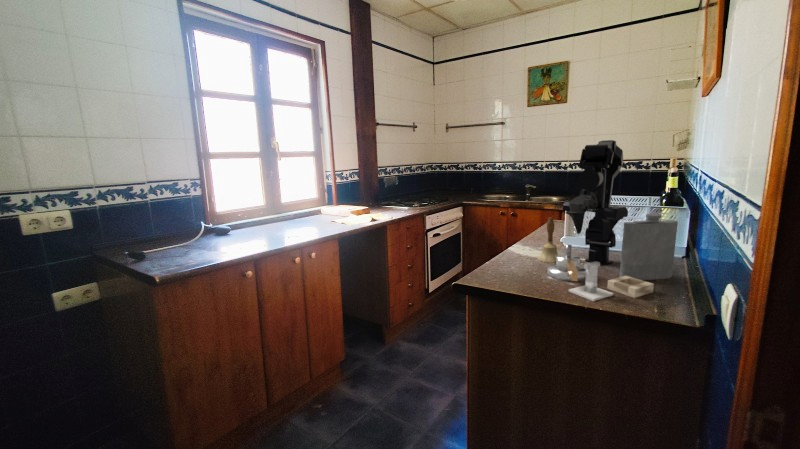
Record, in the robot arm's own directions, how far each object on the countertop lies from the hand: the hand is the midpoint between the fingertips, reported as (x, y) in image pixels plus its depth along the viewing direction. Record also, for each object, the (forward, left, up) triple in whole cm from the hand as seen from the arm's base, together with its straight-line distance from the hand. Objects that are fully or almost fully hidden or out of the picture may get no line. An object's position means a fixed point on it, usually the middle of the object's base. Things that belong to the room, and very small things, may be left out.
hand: (591, 236), depth 114 cm
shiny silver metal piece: (+12, +10, -12) cm, 20 cm away
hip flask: (-13, +10, -13) cm, 21 cm away
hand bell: (-3, -19, -13) cm, 23 cm away
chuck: (+8, 0, -11) cm, 14 cm away
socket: (+1, +14, -13) cm, 19 cm away
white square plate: (+12, +10, -13) cm, 20 cm away
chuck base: (+5, -4, -13) cm, 14 cm away
